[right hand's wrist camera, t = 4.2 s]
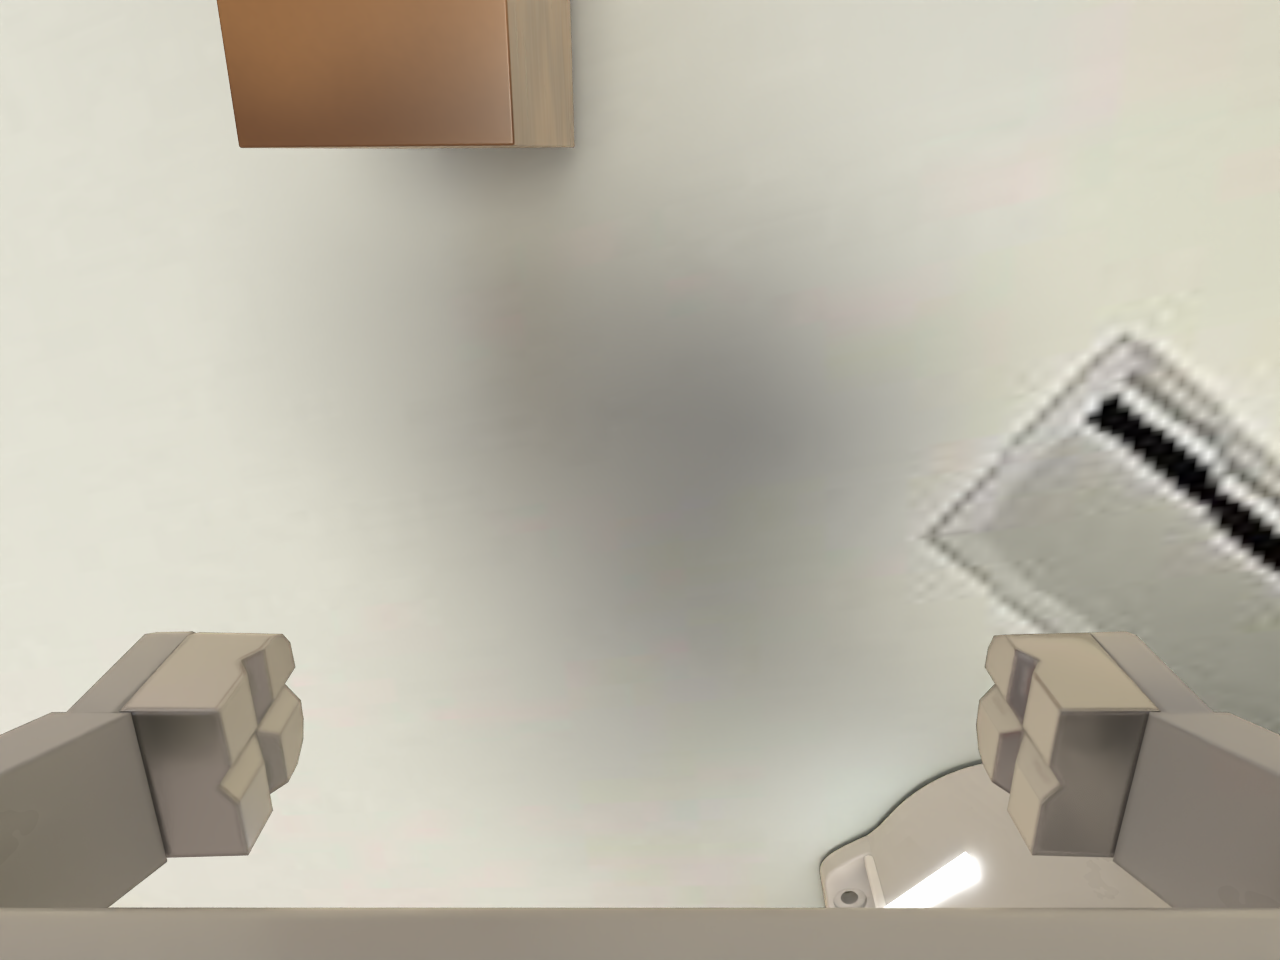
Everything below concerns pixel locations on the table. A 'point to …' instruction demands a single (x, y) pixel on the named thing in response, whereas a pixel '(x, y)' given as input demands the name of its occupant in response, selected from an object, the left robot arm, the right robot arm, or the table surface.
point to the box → (400, 73)
